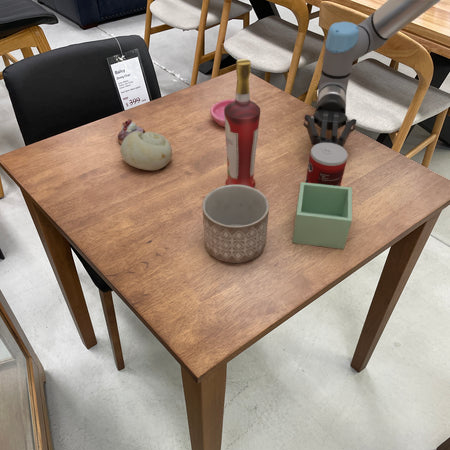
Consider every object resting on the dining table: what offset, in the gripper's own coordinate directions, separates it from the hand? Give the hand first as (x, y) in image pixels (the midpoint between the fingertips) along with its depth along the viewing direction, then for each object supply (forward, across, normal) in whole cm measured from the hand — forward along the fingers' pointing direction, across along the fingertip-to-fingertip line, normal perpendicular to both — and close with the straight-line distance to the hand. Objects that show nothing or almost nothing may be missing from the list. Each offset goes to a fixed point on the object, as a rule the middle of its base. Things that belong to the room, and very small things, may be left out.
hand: (326, 159), depth 98 cm
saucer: (-25, +26, -7) cm, 36 cm away
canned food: (+4, 0, -7) cm, 8 cm away
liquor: (+5, +19, -7) cm, 21 cm away
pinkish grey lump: (-10, +50, -7) cm, 52 cm away
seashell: (0, +43, -7) cm, 44 cm away
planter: (+24, +16, -7) cm, 30 cm away
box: (+16, 0, -7) cm, 17 cm away
